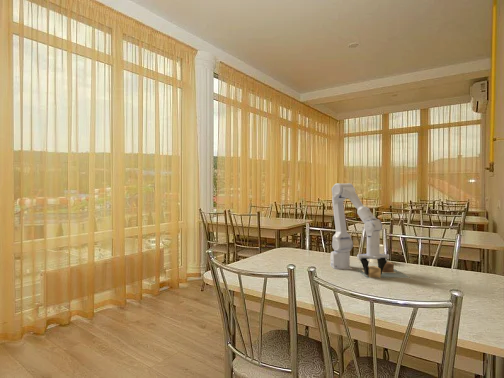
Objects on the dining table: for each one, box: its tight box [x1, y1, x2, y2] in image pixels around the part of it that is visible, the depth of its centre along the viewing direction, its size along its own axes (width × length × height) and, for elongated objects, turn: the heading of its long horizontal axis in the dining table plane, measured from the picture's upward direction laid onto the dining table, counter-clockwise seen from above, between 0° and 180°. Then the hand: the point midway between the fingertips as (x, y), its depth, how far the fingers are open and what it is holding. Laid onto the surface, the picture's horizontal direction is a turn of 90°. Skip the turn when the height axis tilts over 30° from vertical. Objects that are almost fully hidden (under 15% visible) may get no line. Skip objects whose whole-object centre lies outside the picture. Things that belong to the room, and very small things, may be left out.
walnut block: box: [382, 261, 395, 272], centre depth 161 cm, size 5×5×4 cm
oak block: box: [367, 265, 381, 279], centre depth 152 cm, size 5×5×4 cm
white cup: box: [368, 244, 385, 264], centre depth 180 cm, size 8×8×10 cm
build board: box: [356, 268, 411, 279], centre depth 157 cm, size 20×15×1 cm
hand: (373, 274), depth 152 cm, fingers open, 6 cm apart
